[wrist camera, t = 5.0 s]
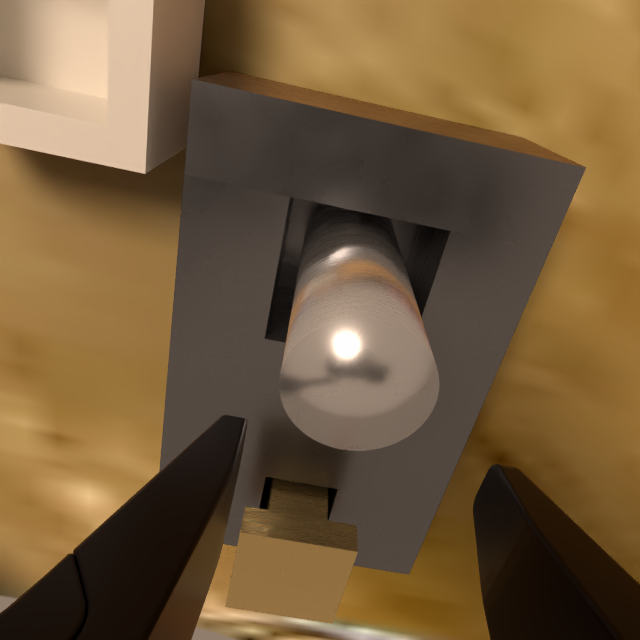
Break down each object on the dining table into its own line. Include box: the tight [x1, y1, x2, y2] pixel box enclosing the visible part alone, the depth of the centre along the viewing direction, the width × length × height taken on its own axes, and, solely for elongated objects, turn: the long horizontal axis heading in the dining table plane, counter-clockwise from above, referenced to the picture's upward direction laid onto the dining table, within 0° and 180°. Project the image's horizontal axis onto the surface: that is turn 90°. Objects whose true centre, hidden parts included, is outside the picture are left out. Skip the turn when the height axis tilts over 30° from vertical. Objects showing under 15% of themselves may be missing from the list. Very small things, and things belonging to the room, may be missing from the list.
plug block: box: [226, 478, 358, 624], centre depth 19 cm, size 4×4×6 cm
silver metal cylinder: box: [279, 204, 439, 451], centre depth 14 cm, size 3×3×9 cm
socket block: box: [160, 71, 586, 574], centre depth 19 cm, size 16×10×5 cm, turn 168°
